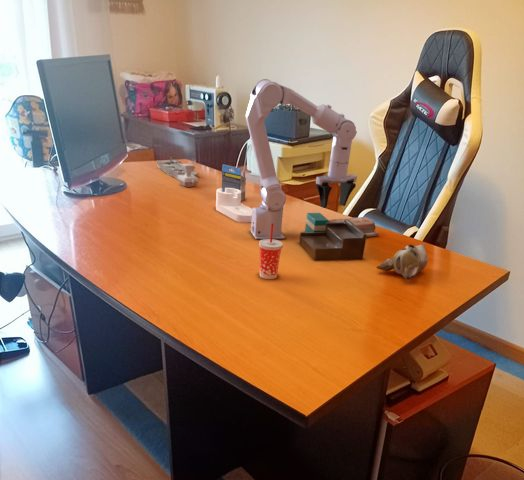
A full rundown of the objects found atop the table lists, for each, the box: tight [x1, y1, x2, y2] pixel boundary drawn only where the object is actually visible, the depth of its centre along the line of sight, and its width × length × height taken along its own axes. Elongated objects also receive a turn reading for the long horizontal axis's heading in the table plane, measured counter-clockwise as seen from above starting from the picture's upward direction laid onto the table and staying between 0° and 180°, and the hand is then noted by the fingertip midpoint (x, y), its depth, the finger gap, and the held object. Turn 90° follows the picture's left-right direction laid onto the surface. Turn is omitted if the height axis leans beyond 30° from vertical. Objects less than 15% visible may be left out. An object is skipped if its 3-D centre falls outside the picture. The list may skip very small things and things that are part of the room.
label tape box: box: [221, 164, 247, 202], centre depth 197 cm, size 9×4×12 cm, turn 58°
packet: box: [304, 212, 330, 232], centre depth 166 cm, size 5×8×6 cm, turn 14°
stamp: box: [176, 163, 200, 188], centre depth 210 cm, size 9×7×8 cm
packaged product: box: [328, 216, 380, 238], centre depth 171 cm, size 18×5×10 cm
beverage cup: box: [258, 224, 284, 280], centre depth 133 cm, size 6×6×14 cm
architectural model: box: [156, 156, 199, 179], centre depth 229 cm, size 12×25×5 cm, turn 35°
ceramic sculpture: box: [376, 243, 429, 280], centre depth 143 cm, size 11×9×15 cm
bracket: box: [215, 187, 253, 223], centre depth 181 cm, size 20×9×7 cm, turn 33°
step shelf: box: [298, 218, 368, 261], centre depth 155 cm, size 15×15×8 cm
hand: (332, 206), depth 165 cm, fingers open, 7 cm apart
